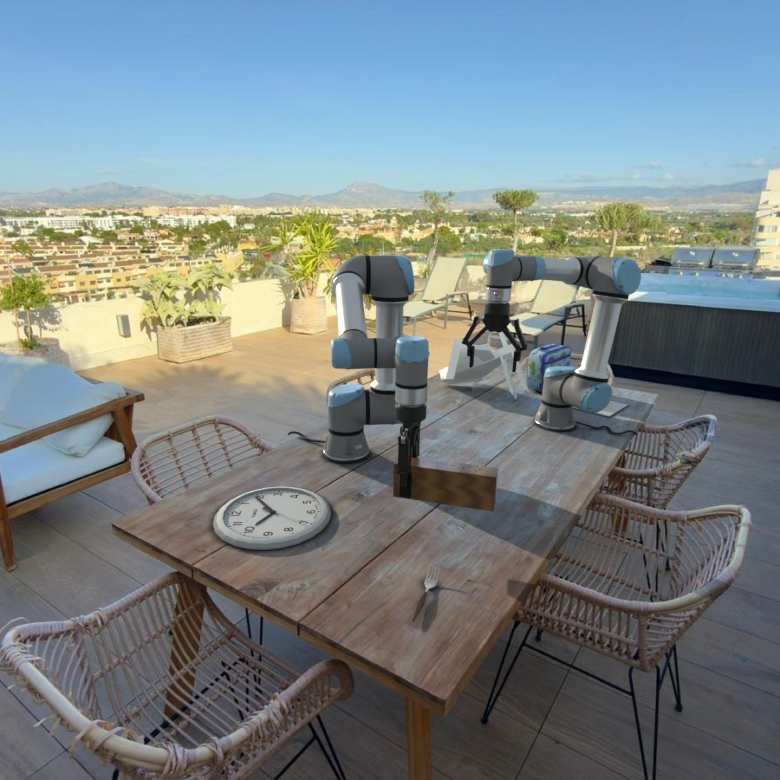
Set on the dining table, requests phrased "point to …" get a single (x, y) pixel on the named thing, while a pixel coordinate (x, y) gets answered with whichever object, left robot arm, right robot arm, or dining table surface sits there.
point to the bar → (450, 483)
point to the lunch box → (545, 363)
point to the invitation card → (611, 408)
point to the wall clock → (272, 518)
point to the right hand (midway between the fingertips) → (492, 369)
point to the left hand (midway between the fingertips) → (408, 491)
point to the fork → (428, 584)
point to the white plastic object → (481, 364)
